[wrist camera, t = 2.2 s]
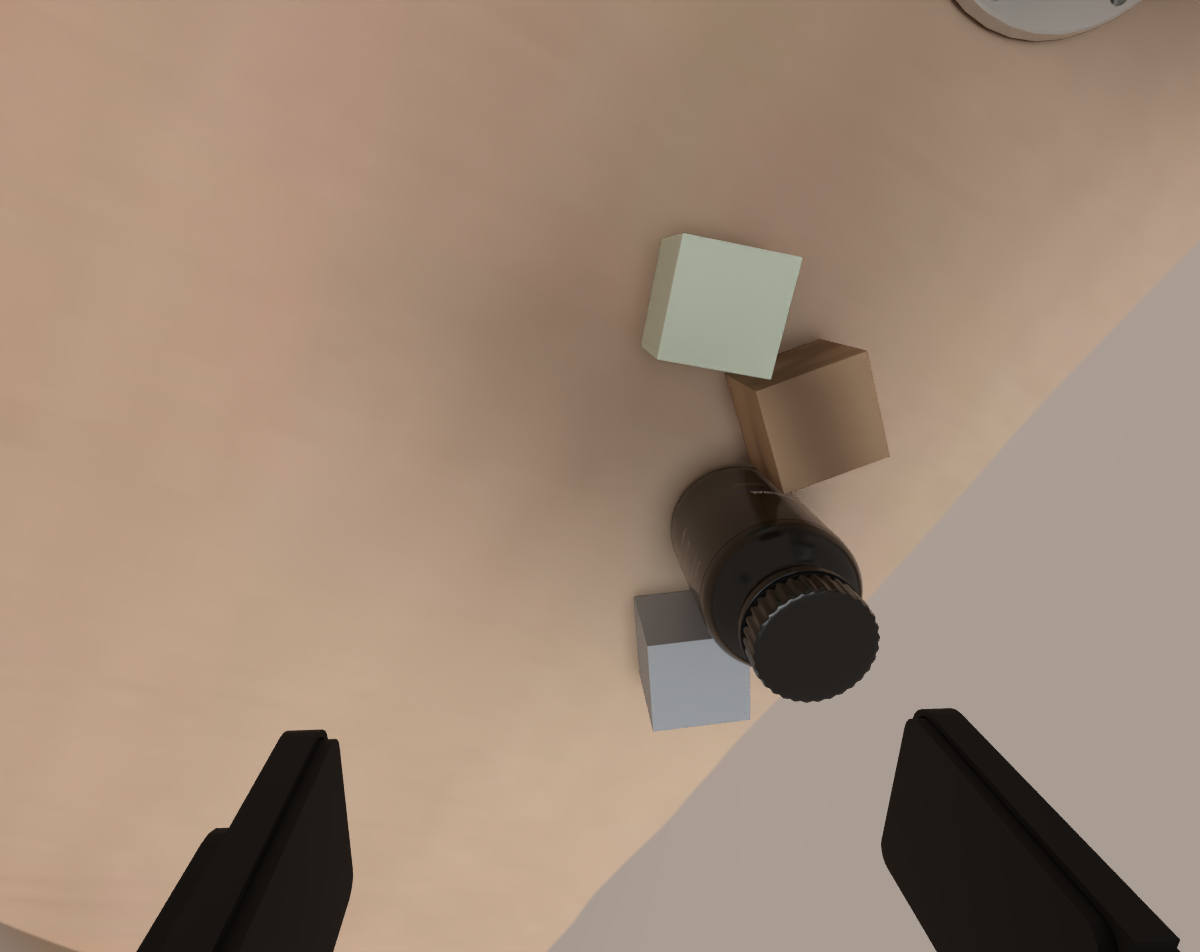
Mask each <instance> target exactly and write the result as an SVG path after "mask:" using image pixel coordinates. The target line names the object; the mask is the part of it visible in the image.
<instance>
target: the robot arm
mask: <svg viewBox="0 0 1200 952" xmlns="http://www.w3.org/2000/svg"><path fill="white" fill-rule="evenodd" d="M956 1H957V2H958V4H959V5H960V6H961V7H962V8H963V9H964V11H965V12H966V13H968V14H969V15H970V16H972V17H973V18H974V19H976V20H977V21H978V22H980V23H981V24H982V25H984V26H985V27H987V28H989V29H991V30H994V31H996V32H998V33H1001V34H1003V35H1005V36H1008V37H1011V38H1017V39H1023V40H1030V41H1045V40H1058V39H1063V38H1067V37H1070V36H1073V35H1076V34H1080V33H1083V32H1086V31H1089V30H1091V29H1093V28H1095V27H1097V26H1099V25H1102V24H1104V23H1106V22H1108V21H1110V20H1113V19H1115V18H1117V17H1118V16H1120V15H1121V14H1123V13H1124V12H1126V11H1127V10H1129V9H1130V8H1132V7H1134V6H1135V5H1137V4H1138V3H1140V2H1141V1H1142V0H956ZM881 848H882V854H883V858H884V861H885V864H886V866H887V868H888V870H889V871H890V873H891V875H892V876H893V878H894V880H895V881H896V883H897V885H898V886H899V888H900V890H901V892H902V893H903V895H904V897H905V899H906V900H907V902H908V904H909V905H910V907H911V909H912V910H913V912H914V914H915V915H916V917H917V919H918V921H919V922H920V924H921V925H922V927H923V929H924V931H925V932H926V934H927V936H928V937H929V939H930V941H931V942H932V944H933V946H934V948H935V949H936V951H937V952H1180V951H1179V950H1178V949H1177V946H1178V944H1179V941H1180V939H1179V938H1178V937H1177V936H1176V935H1175V934H1174V933H1173V932H1172V931H1171V930H1170V929H1169V928H1168V927H1167V926H1166V925H1165V924H1164V923H1163V921H1161V919H1159V917H1158V916H1157V915H1156V914H1155V913H1154V912H1153V911H1152V910H1151V909H1150V908H1149V907H1148V906H1147V905H1146V904H1145V903H1144V902H1143V901H1142V900H1141V899H1140V898H1139V897H1138V896H1137V895H1136V894H1135V893H1134V892H1133V891H1132V889H1131V888H1130V887H1129V886H1128V885H1127V884H1126V883H1125V882H1124V881H1123V880H1122V879H1121V878H1120V877H1119V876H1118V875H1117V874H1116V873H1115V872H1114V871H1113V870H1112V869H1111V868H1110V867H1109V866H1108V865H1107V864H1106V863H1105V862H1104V861H1103V860H1102V859H1101V858H1100V856H1099V855H1098V854H1097V853H1096V852H1095V851H1094V850H1093V849H1092V848H1091V847H1090V846H1089V845H1088V844H1087V843H1086V842H1085V841H1084V840H1083V839H1082V838H1081V837H1080V836H1079V835H1078V834H1077V833H1076V832H1075V831H1074V830H1073V829H1072V828H1071V827H1070V826H1069V825H1068V823H1067V822H1066V821H1065V820H1064V819H1063V818H1062V817H1061V816H1060V815H1059V814H1058V813H1057V812H1056V811H1055V810H1054V809H1053V808H1052V807H1051V806H1050V805H1049V804H1048V803H1047V802H1046V801H1045V800H1044V799H1043V798H1042V797H1041V796H1040V795H1039V793H1037V791H1036V790H1034V788H1033V787H1032V786H1031V785H1030V784H1029V783H1028V782H1027V781H1026V780H1025V779H1024V778H1023V777H1022V776H1021V775H1020V774H1019V773H1018V772H1017V771H1016V770H1015V769H1014V768H1013V767H1012V766H1011V765H1010V764H1009V763H1008V761H1006V759H1005V758H1004V757H1003V756H1001V754H1000V753H999V752H998V751H997V750H996V749H995V748H994V747H993V746H992V745H991V744H990V743H989V742H988V741H987V740H986V739H985V738H984V737H983V736H982V735H981V734H980V733H979V732H978V731H977V730H976V728H974V726H973V725H972V724H971V723H970V722H969V721H968V720H967V719H966V718H965V717H964V716H963V715H962V714H961V713H960V712H958V711H957V710H955V709H952V708H944V709H921V710H918V711H917V712H916V713H915V714H914V717H913V719H909V720H908V721H907V722H906V725H905V728H904V733H903V738H902V743H901V748H900V753H899V758H898V762H897V767H896V772H895V777H894V782H893V787H892V792H891V797H890V802H889V806H888V811H887V816H886V821H885V826H884V831H883V836H882V841H881ZM352 881H353V867H352V858H351V848H350V839H349V830H348V821H347V811H346V802H345V793H344V784H343V774H342V765H341V756H340V747H339V742H338V740H337V739H328V737H327V733H326V732H325V730H297V731H286V732H284V733H283V734H282V736H281V737H280V739H279V740H278V742H277V744H276V746H275V748H274V749H273V751H272V753H271V755H270V756H269V758H268V760H267V762H266V763H265V765H264V767H263V769H262V771H261V772H260V774H259V776H258V778H257V779H256V781H255V783H254V785H253V786H252V788H251V790H250V792H249V794H248V795H247V797H246V799H245V801H244V802H243V804H242V806H241V808H240V809H239V811H238V813H237V815H236V816H235V818H234V820H233V822H232V824H231V825H230V827H229V828H216V829H214V830H213V831H212V832H210V833H209V834H208V835H207V837H206V838H205V839H204V841H203V842H202V843H201V845H200V847H199V848H198V850H197V852H196V853H195V855H194V857H193V858H192V860H191V862H190V863H189V865H188V867H187V868H186V870H185V872H184V873H183V875H182V877H181V878H180V880H179V882H178V883H177V885H176V887H175V888H174V890H173V892H172V893H171V895H170V897H169V898H168V900H167V902H166V903H165V905H164V907H163V908H162V910H161V912H160V913H159V915H158V917H157V918H156V920H155V922H154V923H153V925H152V927H151V928H150V930H149V932H148V933H147V935H146V937H145V939H144V940H143V942H142V944H141V945H140V947H139V949H138V950H137V952H333V951H334V947H335V944H336V941H337V938H338V934H339V931H340V928H341V925H342V921H343V918H344V915H345V911H346V908H347V905H348V902H349V898H350V894H351V889H352Z"/></svg>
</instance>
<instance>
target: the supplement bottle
mask: <svg viewBox="0 0 1200 952" xmlns="http://www.w3.org/2000/svg"><path fill="white" fill-rule="evenodd" d="M671 537H672V543H673V547H674V551H675V553H676V556H677V559H678V561H679V564H680V566H681V568H682V571H683V573H684V576H685V578H686V580H687V583H688V585H689V588H690V590H691V592H692V595H693V597H694V600H695V602H696V604H697V607H698V609H699V612H700V614H701V616H702V619H703V621H704V623H705V626H706V628H707V629H708V631H709V633H710V635H711V637H712V638H713V640H714V641H715V642H716V644H717V645H718V646H719V647H720V648H721V649H722V650H723V651H724V652H725V653H726V654H728V655H729V656H730V657H732V658H734V659H735V660H737V661H739V662H741V663H743V664H745V665H748V666H751V667H753V670H754V672H755V674H756V675H757V677H758V678H759V679H761V681H762V683H763V684H764V686H765V687H767V688H770V689H771V691H772V692H773V693H775V694H779V695H781V697H783V698H786V699H791V700H793V701H803V702H806V703H807V702H811V701H816V702H819V701H821V700H823V699H831V698H832V697H834V696H835V695H839V694H842V693H843V692H845V691H846V690H847V689H849V688H852V687H853V686H854V685H855V683H856V682H858V681H860V680H861V679H862V678H863V676H864V674H865V673H866V672H867V671H869V670H870V667H871V664H872V663H873V662H874V660H875V658H876V655H875V654H876V652H877V651H878V649H879V646H878V641H879V639H880V636H879V634H878V628H879V627H878V624H877V623H876V622H875V616H874V614H873V613H872V611H871V610H870V609H869V607H868V605H867V604H866V603H865V601H864V600H863V599H862V592H863V588H862V578H861V573H860V570H859V567H858V565H857V562H856V560H855V558H854V556H853V555H852V553H851V552H850V550H849V549H848V548H847V546H846V545H845V544H844V543H843V542H842V541H841V540H840V539H839V538H838V537H837V536H836V535H835V534H834V533H833V532H832V531H831V530H830V529H829V528H828V527H827V526H826V525H825V524H824V523H822V522H821V521H820V520H819V519H818V518H817V517H816V516H815V515H814V514H813V513H812V512H811V511H810V510H809V509H808V508H807V507H805V506H804V505H803V504H802V503H801V502H800V501H799V500H798V499H797V498H796V497H795V496H794V495H793V494H792V493H791V492H790V493H787V494H783V493H782V492H781V491H780V490H779V489H778V488H777V487H776V486H775V485H773V484H772V483H771V482H770V481H769V480H768V479H767V478H766V477H765V476H764V475H763V474H762V473H761V472H760V471H758V470H754V469H749V468H727V469H722V470H719V471H716V472H713V473H711V474H709V475H707V476H705V477H703V478H702V479H700V480H699V481H697V482H696V483H695V484H693V485H692V486H691V487H690V488H689V489H688V490H687V492H686V493H685V494H684V495H683V497H682V498H681V500H680V501H679V503H678V505H677V507H676V510H675V513H674V516H673V520H672V526H671Z"/></svg>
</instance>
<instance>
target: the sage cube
mask: <svg viewBox="0 0 1200 952" xmlns="http://www.w3.org/2000/svg"><path fill="white" fill-rule="evenodd" d="M802 259H803V257H799V256H794V255H789V254H784V253H779V252H774V251H769V250H764V249H759V248H754V247H750V246H745V245H740V244H735V243H730V242H725V241H720V240H715V239H710V238H705V237H701V236H696V235H691V234H686V233H681V234H677V235H674V236H670V237H667V238H663V239H662V241H661V246H660V251H659V256H658V261H657V266H656V271H655V276H654V281H653V286H652V291H651V296H650V301H649V306H648V312H647V317H646V322H645V327H644V332H643V337H642V342H641V347H642V348H643V349H645V350H646V351H647V352H648V353H650V354H651V355H652V356H653V357H654V358H656V359H657V360H663V361H668V362H674V363H680V364H685V365H691V366H696V367H702V368H708V369H713V370H719V371H725V372H730V373H736V374H742V375H747V376H753V377H759V378H764V379H770V380H771V377H772V373H773V369H774V366H775V362H776V358H777V354H778V350H779V347H780V343H781V339H782V335H783V331H784V327H785V324H786V320H787V316H788V312H789V308H790V304H791V301H792V297H793V293H794V289H795V285H796V281H797V278H798V274H799V270H800V266H801V262H802Z"/></svg>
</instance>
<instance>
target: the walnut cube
mask: <svg viewBox="0 0 1200 952" xmlns="http://www.w3.org/2000/svg"><path fill="white" fill-rule="evenodd" d="M725 376H726V379H727V383H728V386H729V389H730V393H731V396H732V400H733V403H734V407H735V410H736V414H737V417H738V420H739V424H740V427H741V431H742V434H743V438H744V441H745V445H746V448H747V451H748V455H749V458H750V462H751V464H752V465H753V466H754V467H755V468H757V469H758V470H759V471H760V472H761V473H762V474H763V475H764V476H765V477H766V478H767V479H768V480H769V481H770V482H771V483H772V484H773V485H775V486H776V487H777V488H778V489H779V490H780V491H781V492H782V493H783V494H787V493H790V492H793V491H795V490H798V489H801V488H804V487H807V486H809V485H812V484H815V483H818V482H820V481H823V480H826V479H829V478H832V477H834V476H837V475H840V474H843V473H845V472H848V471H851V470H854V469H856V468H859V467H862V466H865V465H868V464H870V463H873V462H876V461H879V460H881V459H884V458H887V457H890V456H889V451H888V446H887V442H886V437H885V432H884V428H883V423H882V418H881V413H880V409H879V404H878V399H877V395H876V390H875V385H874V381H873V376H872V371H871V366H870V362H869V357H868V352H867V351H866V350H862V349H858V348H854V347H850V346H846V345H842V344H838V343H834V342H830V341H826V340H822V339H818V340H816V341H813V342H810V343H808V344H805V345H802V346H799V347H797V348H794V349H791V350H789V351H786V352H783V353H780V354H778V355H777V358H776V362H775V366H774V369H773V373H772V377H771V380H770V379H764V378H759V377H753V376H747V375H742V374H736V373H730V372H729V373H726V374H725Z"/></svg>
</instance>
